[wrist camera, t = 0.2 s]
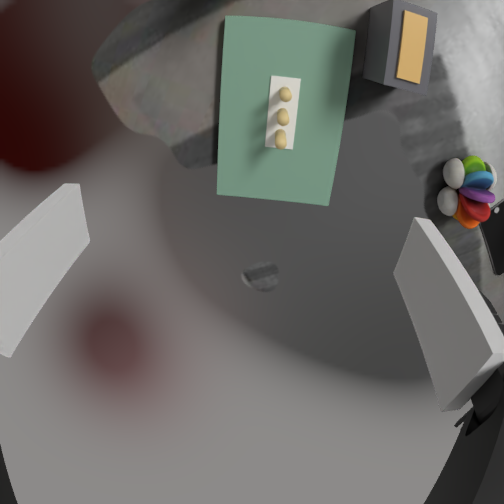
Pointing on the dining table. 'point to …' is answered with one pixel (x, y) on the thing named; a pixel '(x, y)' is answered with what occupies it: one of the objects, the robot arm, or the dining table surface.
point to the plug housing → (400, 45)
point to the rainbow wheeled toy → (467, 190)
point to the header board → (282, 108)
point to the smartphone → (495, 236)
